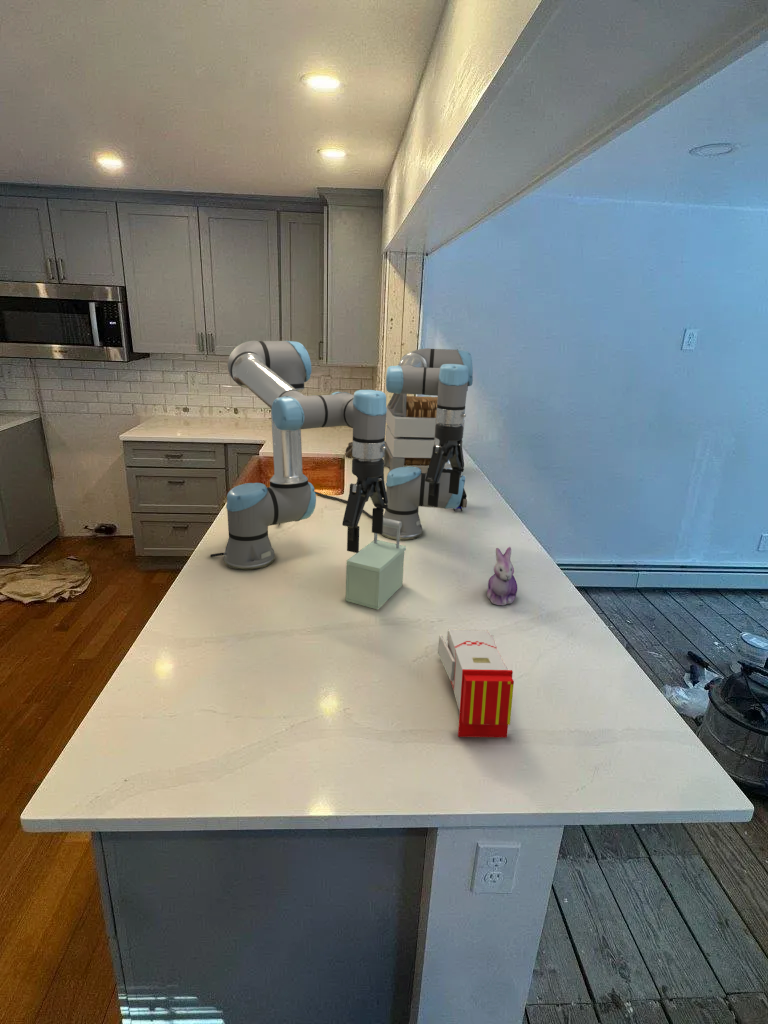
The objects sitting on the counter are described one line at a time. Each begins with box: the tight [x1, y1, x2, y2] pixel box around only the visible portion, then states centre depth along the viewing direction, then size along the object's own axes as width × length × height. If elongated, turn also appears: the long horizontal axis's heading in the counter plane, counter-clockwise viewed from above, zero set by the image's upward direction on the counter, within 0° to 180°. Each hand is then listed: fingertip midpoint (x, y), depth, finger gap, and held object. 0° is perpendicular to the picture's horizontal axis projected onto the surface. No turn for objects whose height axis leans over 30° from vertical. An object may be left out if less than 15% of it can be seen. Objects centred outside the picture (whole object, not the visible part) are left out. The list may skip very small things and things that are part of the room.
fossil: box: [344, 441, 353, 458], centre depth 304 cm, size 22×10×15 cm
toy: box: [437, 628, 515, 738], centre depth 117 cm, size 12×13×30 cm
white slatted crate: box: [383, 393, 465, 472], centre depth 268 cm, size 34×33×41 cm
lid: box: [345, 518, 407, 573], centre depth 153 cm, size 17×10×9 cm, turn 155°
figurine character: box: [452, 488, 468, 512], centre depth 228 cm, size 7×8×15 cm
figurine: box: [486, 546, 518, 606], centre depth 155 cm, size 9×10×15 cm
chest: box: [345, 551, 405, 610], centre depth 156 cm, size 16×10×11 cm, turn 155°
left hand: (365, 541), depth 140 cm, fingers open, 13 cm apart
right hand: (443, 499), depth 159 cm, fingers open, 13 cm apart
